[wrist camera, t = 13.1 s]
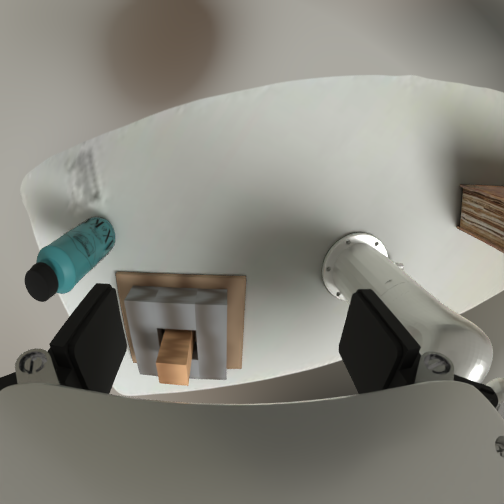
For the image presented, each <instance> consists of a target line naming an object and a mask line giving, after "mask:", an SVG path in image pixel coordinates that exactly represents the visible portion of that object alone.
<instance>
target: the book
mask: <svg viewBox="0 0 504 504" xmlns="http://www.w3.org/2000/svg"><path fill="white" fill-rule="evenodd" d="M460 187H463V196H462V209H461V219H460V226H457V229H459V230H461V231H463V232H465V233H467V234H469V235H471V236H473V237H475V238H477V239H479V240H481V241H483V242H485V243H486V244H488V245H490V246H492V247H494V248H496V249H497V250H499V251H501V252H503V253H504V186H491V185H469V184H460Z"/></svg>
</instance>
